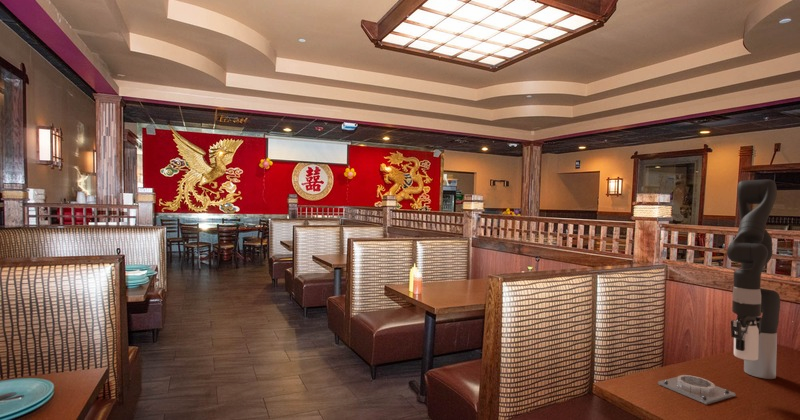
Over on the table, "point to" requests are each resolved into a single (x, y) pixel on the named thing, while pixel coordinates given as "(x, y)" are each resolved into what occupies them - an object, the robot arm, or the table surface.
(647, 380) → the table surface
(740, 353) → the can
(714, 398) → the duct flange
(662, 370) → the table surface
